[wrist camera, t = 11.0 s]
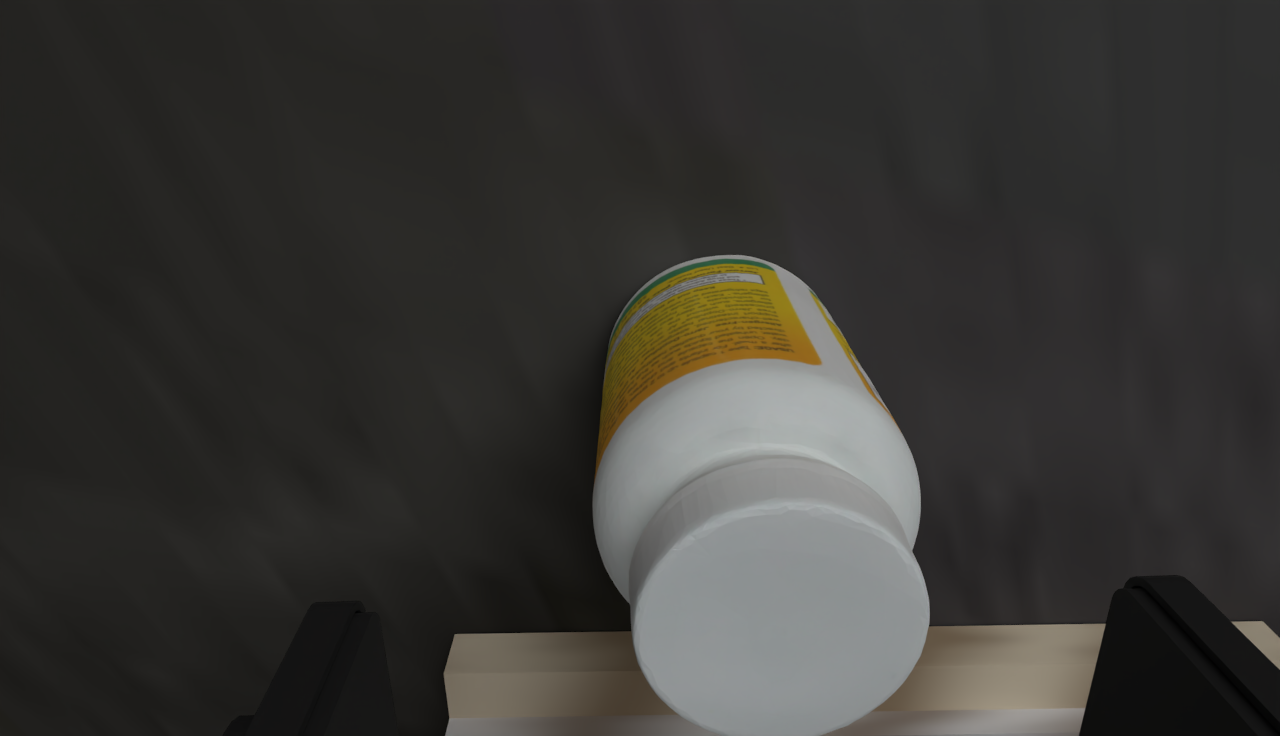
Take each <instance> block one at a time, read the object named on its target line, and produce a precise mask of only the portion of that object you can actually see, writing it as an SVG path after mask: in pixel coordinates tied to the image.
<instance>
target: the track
mask: <svg viewBox="0 0 1280 736" xmlns="http://www.w3.org/2000/svg"><path fill="white" fill-rule="evenodd" d="M1232 623H1233V624H1234V625H1235V626H1236V627H1237V628H1238V629H1239V630H1240V631H1241V632H1242V633H1243V634H1244V635H1245V636H1246V637H1247V638H1248V639H1249V640H1250V641H1251V642H1252V643H1253V644H1254V645H1255V646H1256V647H1257V648H1258V649H1259V650H1260V651H1261V652H1262V653H1263V654H1264V655H1265V656H1266V657H1267V658H1268V659H1269V660H1270V661H1271V662H1272V663H1273V664H1274V665H1275V666H1276V667H1278V668H1279V669H1280V638H1279V637H1278V636H1277V635H1276V634H1275V633H1274V632H1273V631H1272V630H1271V629H1270V628H1269V627H1268V626H1267V625H1266V624H1265V623H1264V622H1263V621H1245V622H1232ZM1105 625H1106V624H1057V625H994V626H931V627H928V631H927V636H926V641H925V644H924V647H923V650H922V653H921V656H920V658H919V659H918V661H917V663H916V665H915V666H914V668H913V670H912V671H911V673H910V674H909V676H908V677H907V679H906V680H905V681H904V683H903V684H902V685H901V686H900V687H899V688H898V689H897V690H896V692H895V693H894V694H892V695H891V696H890V697H889V698H888V699H887V700H886V701H885V702H883V703H882V704H881V705H880V706H878V707H877V708H875V709H874V710H873V711H871V712H870V713H868V714H867V715H865V716H864V717H862V718H860V719H858V720H856V721H854V722H853V723H851V724H850V725H848V726H845V727H843V728H840V729H837V730H834V731H831V732H829V733H826V734H823V735H820V736H1079V732H1080V728H1081V724H1082V720H1083V716H1084V712H1085V708H1086V703H1087V699H1088V695H1089V691H1090V687H1091V683H1092V679H1093V675H1094V671H1095V666H1096V662H1097V658H1098V654H1099V650H1100V646H1101V642H1102V638H1103V633H1104V629H1105ZM444 680H445V688H446V695H447V703H448V710H449V718H450V719H449V723H448V726H447V730H446V734H445V736H722V735H720V734H717V733H713V732H710V731H708V730H706V729H704V728H701V727H699V726H697V725H695V724H693V723H691V722H689V721H688V720H686V719H684V718H683V717H681V716H680V715H679V714H677V713H676V712H675V711H673V710H672V709H671V708H670V707H669V706H668V705H667V704H666V703H664V702H663V701H662V700H661V699H660V698H659V697H658V695H657V694H656V693H655V692H654V691H653V689H652V688H651V687H650V685H649V683H648V681H647V680H646V678H645V676H644V674H643V672H642V670H641V668H640V666H639V664H638V662H637V658H636V654H635V651H634V647H633V640H632V631H617V632H554V633H491V634H455V635H454V639H453V643H452V646H451V650H450V653H449V657H448V660H447V664H446V667H445V671H444Z"/></svg>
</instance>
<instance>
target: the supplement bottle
mask: <svg viewBox="0 0 1280 736" xmlns="http://www.w3.org/2000/svg"><path fill="white" fill-rule="evenodd" d="M592 506H593V525H594V531H595V537H596V542H597V546H598V549H599V552H600V555H601V558H602V561H603V564H604V566H605V568H606V570H607V572H608V574H609V576H610V578H611V579H612V581H613V583H614V584H615V586H616V587H617V589H618V590H619V592H620V593H621V594H622V596H623V597H624V598H625V599H626V601H627V602H628V603H629V604H630V611H631V631H632V640H633V647H634V651H635V654H636V658H637V662H638V664H639V666H640V668H641V670H642V672H643V674H644V676H645V678H646V680H647V681H648V683H649V685H650V687H651V688H652V689H653V691H654V692H655V693H656V694H657V695H658V697H659V698H660V699H661V700H662V701H663V702H664V703H666V704H667V705H668V706H669V707H670V708H671V709H672V710H673V711H675V712H676V713H677V714H679V715H680V716H681V717H683V718H684V719H686V720H688V721H689V722H691V723H693V724H695V725H697V726H699V727H701V728H704V729H706V730H708V731H710V732H713V733H717V734H720V735H722V736H820V735H823V734H826V733H829V732H831V731H834V730H837V729H840V728H843V727H845V726H848V725H850V724H851V723H853V722H854V721H856V720H858V719H860V718H862V717H864V716H865V715H867V714H868V713H870V712H871V711H873V710H874V709H875V708H877V707H878V706H880V705H881V704H882V703H883V702H885V701H886V700H887V699H888V698H889V697H890V696H891V695H892V694H894V693H895V692H896V690H897V689H898V688H899V687H900V686H901V685H902V684H903V683H904V681H905V680H906V679H907V677H908V676H909V674H910V673H911V671H912V670H913V668H914V666H915V665H916V663H917V661H918V659H919V658H920V656H921V653H922V650H923V647H924V644H925V641H926V636H927V631H928V627H929V617H930V610H929V598H928V593H927V589H926V585H925V580H924V578H923V575H922V572H921V569H920V567H919V565H918V563H917V561H916V558H915V556H914V554H913V552H912V549H913V547H914V543H915V540H916V536H917V532H918V528H919V521H920V511H921V495H920V485H919V479H918V473H917V469H916V466H915V462H914V459H913V456H912V454H911V451H910V449H909V447H908V445H907V443H906V441H905V439H904V437H903V435H902V433H901V431H900V429H899V427H898V426H897V424H896V422H895V420H894V418H893V417H892V415H891V414H890V412H889V410H888V409H887V407H886V406H885V404H884V403H883V401H882V399H881V397H880V396H879V394H878V392H877V391H876V389H875V388H874V386H873V384H872V383H871V381H870V379H869V378H868V376H867V375H866V373H865V372H864V370H863V369H862V367H861V365H860V364H859V362H858V360H857V359H856V357H855V355H854V354H853V352H852V350H851V349H850V347H849V345H848V344H847V342H846V340H845V338H844V336H843V335H842V333H841V331H840V329H839V328H838V327H837V325H836V324H835V322H834V320H833V319H832V317H831V315H830V314H829V312H828V311H827V309H826V308H825V307H824V305H823V304H822V302H821V301H820V300H819V298H818V297H817V296H816V295H815V293H814V292H813V291H812V290H811V289H810V288H809V287H808V286H807V285H806V284H805V283H804V282H803V281H801V280H800V279H799V278H797V277H796V276H795V275H793V274H792V273H790V272H788V271H787V270H785V269H783V268H781V267H779V266H777V265H775V264H773V263H770V262H767V261H764V260H761V259H758V258H754V257H750V256H743V255H722V256H711V257H704V258H698V259H694V260H691V261H687V262H684V263H681V264H678V265H676V266H674V267H671V268H669V269H667V270H665V271H664V272H662V273H660V274H659V275H657V276H655V277H654V278H653V279H651V280H650V281H649V282H647V283H646V284H645V285H644V286H643V287H642V288H641V289H640V290H638V291H637V293H636V294H635V295H634V296H633V297H632V298H631V299H630V301H629V302H628V303H627V305H626V306H625V308H624V309H623V311H622V312H621V314H620V316H619V318H618V320H617V321H616V323H615V326H614V328H613V331H612V334H611V337H610V341H609V345H608V352H607V358H606V365H605V375H604V383H603V397H602V407H601V416H600V429H599V438H598V449H597V459H596V471H595V480H594V489H593V503H592Z"/></svg>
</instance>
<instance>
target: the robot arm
mask: <svg viewBox="0 0 1280 736" xmlns="http://www.w3.org/2000/svg"><path fill="white" fill-rule="evenodd" d="M223 736H399V735H398V728H397V722H396V716H395V710H394V704H393V698H392V691H391V685H390V679H389V673H388V667H387V660H386V654H385V648H384V642H383V636H382V629H381V623H380V619H379V616H378V614H377V613H375V612H369V613H366V612H365V608H364V606H363V604H362V602H360V601H341V602H315V603H313V604H312V605H311V606H310V608H309V609H308V611H307V613H306V615H305V617H304V619H303V621H302V623H301V625H300V627H299V629H298V631H297V633H296V635H295V637H294V639H293V641H292V643H291V645H290V647H289V649H288V651H287V653H286V655H285V657H284V659H283V661H282V663H281V665H280V666H279V668H278V670H277V672H276V674H275V676H274V678H273V680H272V682H271V684H270V686H269V688H268V690H267V692H266V694H265V696H264V698H263V700H262V702H261V704H260V706H259V708H258V710H257V712H256V714H255V715H253V716H239V717H237V718H236V719H235V720H233V721H232V722H231V723H230V725H229V726H228V728H227V729H226V731H225V732H224V734H223ZM1079 736H1280V669H1279V668H1278V667H1276V666H1275V665H1274V664H1273V663H1272V662H1271V661H1270V660H1269V659H1268V658H1267V657H1266V656H1265V655H1264V654H1263V653H1262V652H1261V651H1260V650H1259V649H1258V648H1257V647H1256V646H1255V645H1254V644H1253V643H1252V642H1251V641H1250V640H1249V639H1248V638H1247V637H1246V636H1245V635H1244V634H1243V633H1242V632H1241V631H1240V630H1239V629H1238V628H1237V627H1236V626H1235V625H1234V624H1233V623H1232V622H1231V621H1230V620H1229V619H1228V618H1227V617H1226V616H1225V615H1224V614H1222V613H1221V612H1220V611H1219V610H1218V609H1217V608H1216V607H1215V606H1214V605H1213V604H1212V603H1211V602H1210V601H1209V600H1208V599H1207V598H1206V597H1205V596H1204V595H1203V594H1202V593H1201V592H1200V591H1199V590H1198V589H1197V588H1196V587H1195V586H1194V585H1193V584H1192V583H1191V582H1190V581H1188V580H1187V579H1186V578H1184V577H1182V576H1178V575H1168V576H1136V577H1132V578H1130V579H1129V580H1128V581H1127V582H1126V583H1125V586H1124V588H1123V589H1118V590H1117V591H1116V592H1115V593H1114V595H1113V597H1112V600H1111V605H1110V609H1109V613H1108V617H1107V621H1106V625H1105V629H1104V633H1103V638H1102V642H1101V646H1100V650H1099V654H1098V658H1097V662H1096V666H1095V671H1094V675H1093V679H1092V683H1091V687H1090V691H1089V695H1088V699H1087V703H1086V708H1085V712H1084V716H1083V720H1082V724H1081V728H1080V732H1079Z"/></svg>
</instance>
